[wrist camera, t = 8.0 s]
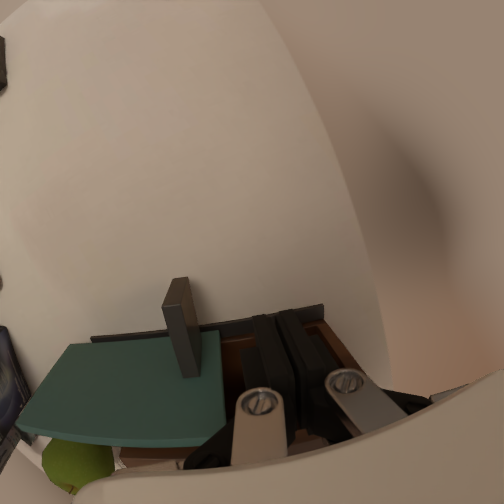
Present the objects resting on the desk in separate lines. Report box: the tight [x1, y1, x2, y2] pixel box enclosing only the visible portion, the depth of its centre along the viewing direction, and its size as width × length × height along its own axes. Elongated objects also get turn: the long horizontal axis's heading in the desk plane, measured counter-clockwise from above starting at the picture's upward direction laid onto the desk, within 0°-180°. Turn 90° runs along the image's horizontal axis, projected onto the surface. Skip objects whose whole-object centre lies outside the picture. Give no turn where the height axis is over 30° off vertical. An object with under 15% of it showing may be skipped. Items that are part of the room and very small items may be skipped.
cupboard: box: [90, 304, 366, 468], centre depth 19 cm, size 12×22×13 cm, turn 97°
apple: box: [42, 438, 115, 495], centre depth 20 cm, size 9×8×12 cm
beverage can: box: [0, 418, 36, 474], centre depth 19 cm, size 9×8×12 cm
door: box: [16, 277, 227, 448], centre depth 16 cm, size 6×15×12 cm, turn 97°
